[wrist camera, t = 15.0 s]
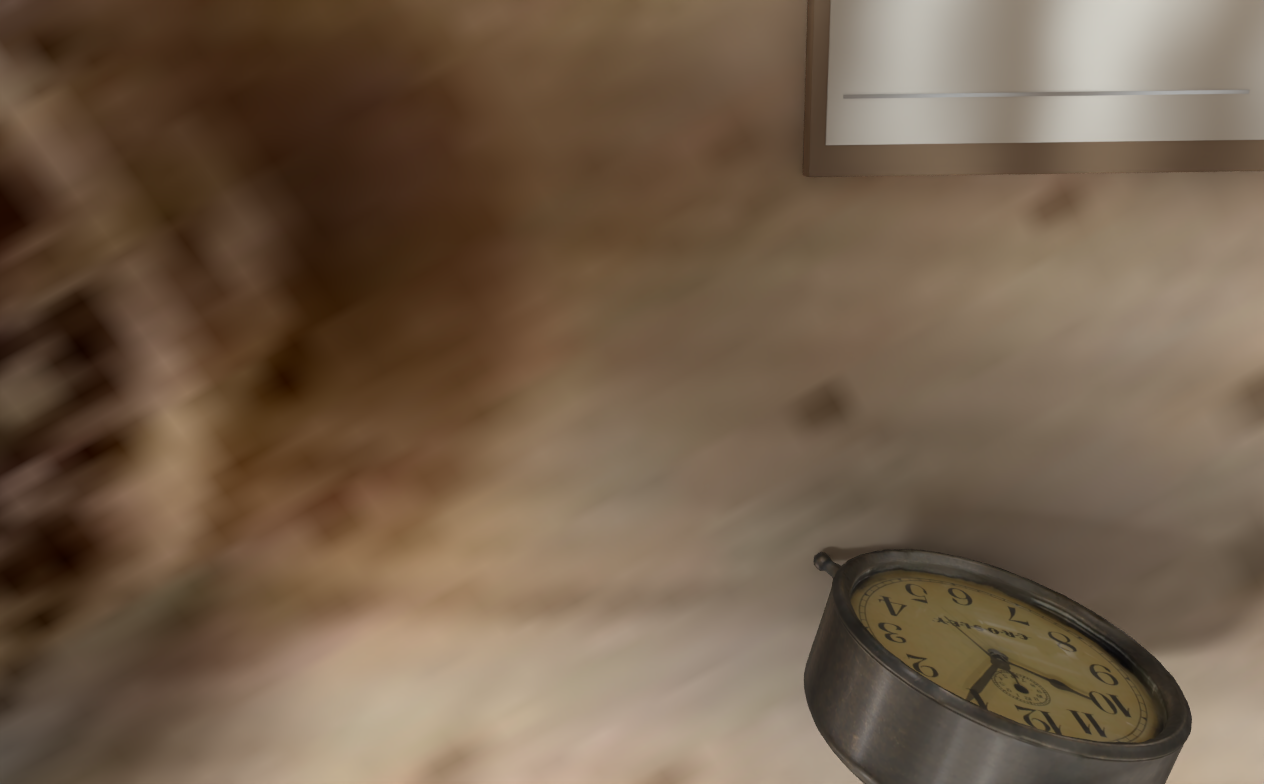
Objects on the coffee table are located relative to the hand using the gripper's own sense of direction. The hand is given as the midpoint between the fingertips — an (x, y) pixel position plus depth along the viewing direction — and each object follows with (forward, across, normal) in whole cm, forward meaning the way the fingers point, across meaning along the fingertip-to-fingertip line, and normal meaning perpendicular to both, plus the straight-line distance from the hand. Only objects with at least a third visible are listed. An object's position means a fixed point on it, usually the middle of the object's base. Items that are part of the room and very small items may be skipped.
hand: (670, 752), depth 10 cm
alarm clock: (+27, +11, -12) cm, 31 cm away
